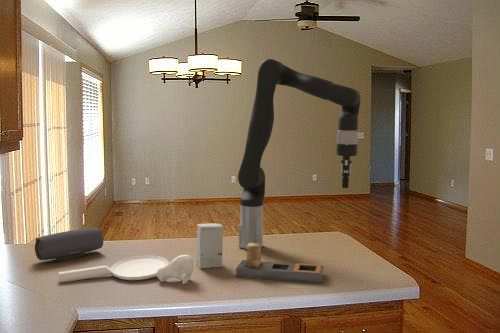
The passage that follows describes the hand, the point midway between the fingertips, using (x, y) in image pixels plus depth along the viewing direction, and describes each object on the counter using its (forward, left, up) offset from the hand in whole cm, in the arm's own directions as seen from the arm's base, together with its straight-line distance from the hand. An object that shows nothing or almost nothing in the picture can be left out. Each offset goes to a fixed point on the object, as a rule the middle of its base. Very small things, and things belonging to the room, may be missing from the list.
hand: (345, 186), depth 176 cm
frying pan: (-73, -39, -28) cm, 87 cm away
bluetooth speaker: (-100, -24, -27) cm, 106 cm away
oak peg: (-29, -27, -27) cm, 48 cm away
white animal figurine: (-52, -40, -27) cm, 71 cm away
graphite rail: (-20, -27, -27) cm, 43 cm away
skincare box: (-46, -22, -27) cm, 58 cm away
